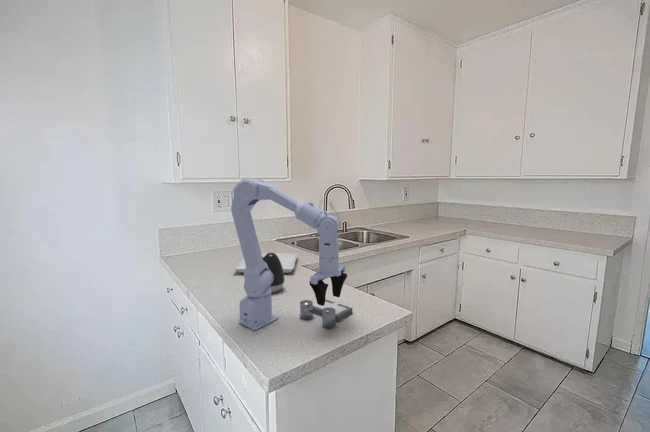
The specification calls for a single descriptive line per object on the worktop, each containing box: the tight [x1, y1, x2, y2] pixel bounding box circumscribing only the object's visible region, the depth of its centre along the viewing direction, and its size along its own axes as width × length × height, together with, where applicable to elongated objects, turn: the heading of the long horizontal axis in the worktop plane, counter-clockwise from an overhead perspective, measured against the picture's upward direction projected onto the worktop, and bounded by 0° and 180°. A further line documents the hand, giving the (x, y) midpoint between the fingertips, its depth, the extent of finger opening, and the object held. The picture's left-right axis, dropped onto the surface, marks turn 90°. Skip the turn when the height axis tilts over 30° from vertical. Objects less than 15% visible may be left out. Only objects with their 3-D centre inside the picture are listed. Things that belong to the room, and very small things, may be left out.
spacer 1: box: [299, 299, 314, 321], centre depth 100 cm, size 4×4×5 cm
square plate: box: [233, 252, 299, 274], centre depth 153 cm, size 27×27×4 cm
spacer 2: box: [321, 307, 336, 330], centre depth 94 cm, size 4×4×5 cm
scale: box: [313, 298, 353, 323], centre depth 103 cm, size 8×12×2 cm, turn 52°
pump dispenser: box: [262, 252, 286, 294], centre depth 121 cm, size 10×10×15 cm
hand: (328, 300), depth 93 cm, fingers open, 7 cm apart
